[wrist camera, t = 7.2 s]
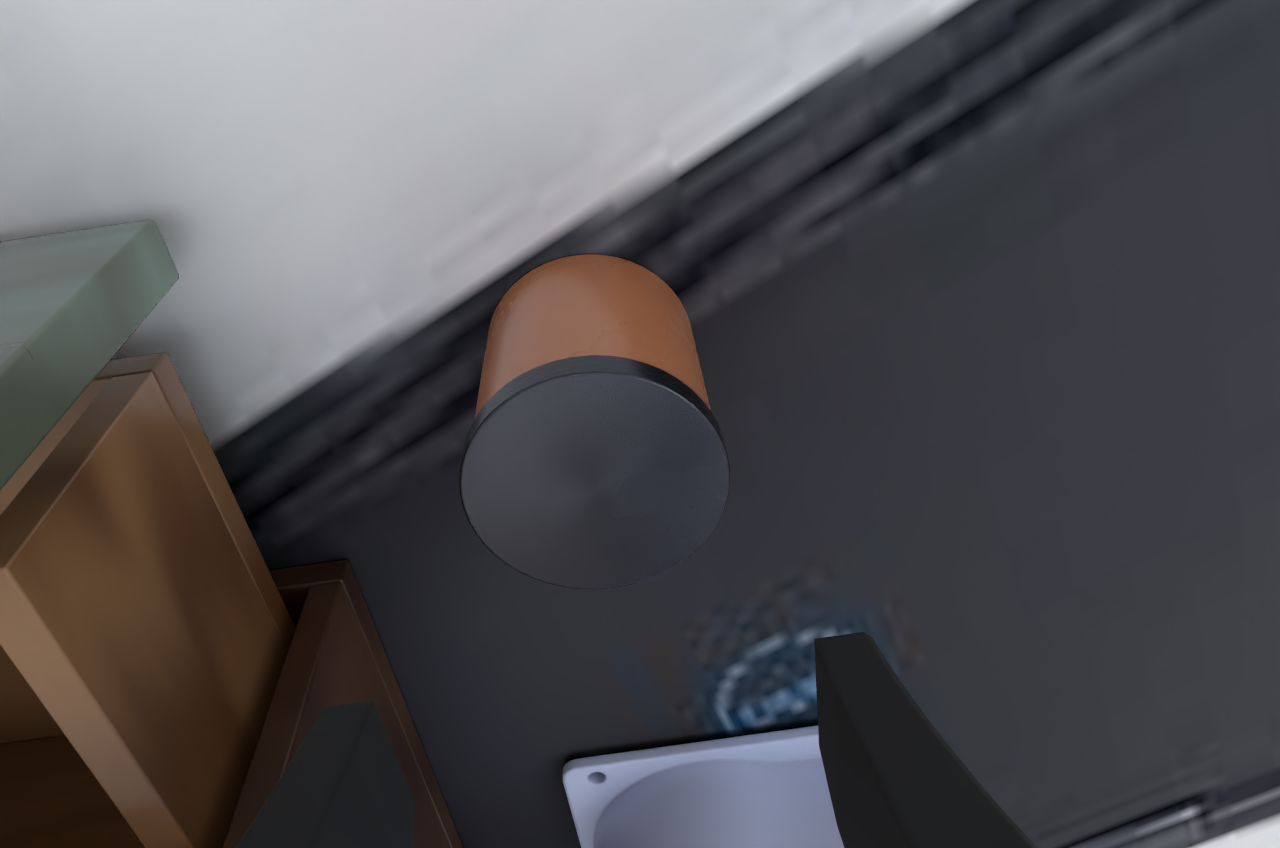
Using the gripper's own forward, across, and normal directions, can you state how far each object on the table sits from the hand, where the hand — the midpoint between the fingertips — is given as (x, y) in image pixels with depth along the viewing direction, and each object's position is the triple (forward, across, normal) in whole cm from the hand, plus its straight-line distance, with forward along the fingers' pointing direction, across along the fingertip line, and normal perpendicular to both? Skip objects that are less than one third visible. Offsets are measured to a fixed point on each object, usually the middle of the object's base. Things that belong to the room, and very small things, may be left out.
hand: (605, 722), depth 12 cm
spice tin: (+10, 0, 0) cm, 10 cm away
